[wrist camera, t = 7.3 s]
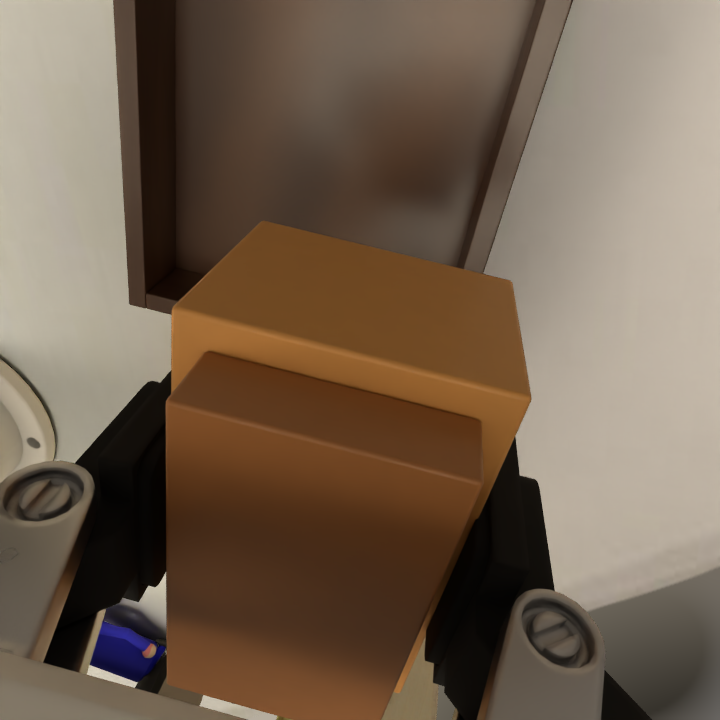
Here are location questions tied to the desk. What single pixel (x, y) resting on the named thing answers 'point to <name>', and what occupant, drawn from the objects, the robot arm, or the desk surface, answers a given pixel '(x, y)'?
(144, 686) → the figurine character
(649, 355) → the desk surface
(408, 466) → the orange stepped block
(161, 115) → the brown wooden tray
